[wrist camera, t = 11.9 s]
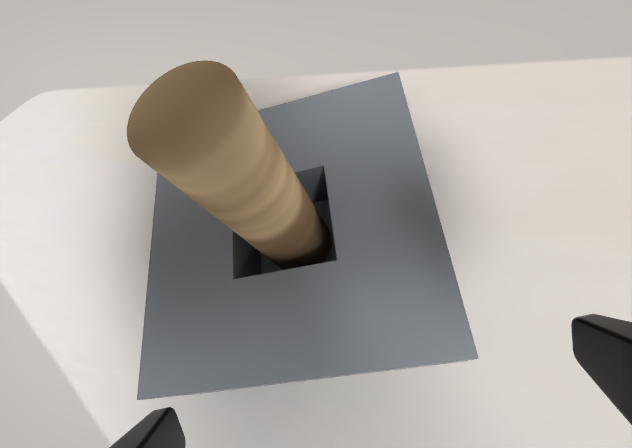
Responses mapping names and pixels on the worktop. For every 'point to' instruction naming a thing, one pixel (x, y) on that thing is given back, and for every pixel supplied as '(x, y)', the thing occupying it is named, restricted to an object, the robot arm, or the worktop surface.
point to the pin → (227, 161)
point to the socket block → (313, 280)
